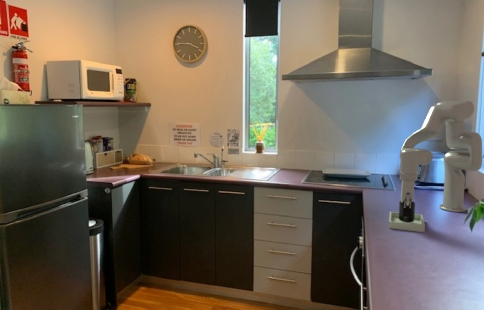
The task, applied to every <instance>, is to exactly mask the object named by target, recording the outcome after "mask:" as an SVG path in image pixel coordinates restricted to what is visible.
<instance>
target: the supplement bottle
mask: <svg viewBox="0 0 484 310" xmlns="http://www.w3.org/2000/svg"><path fill="white" fill-rule="evenodd" d="M406 196H407V194H406ZM405 201H406V200H405ZM405 206H406V205H405ZM403 208H404V201H403V202H402V201H401V200H400V201H399V204H398V212H399V220H400V221H403V222H413V221H414V220H415V214H416V213H415V212H416V202H415V201H414V200H413V201H412V202H411V216H410V217H408V216H403Z"/></svg>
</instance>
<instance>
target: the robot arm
mask: <svg viewBox="0 0 484 310" xmlns="http://www.w3.org/2000/svg"><path fill="white" fill-rule="evenodd" d="M474 111H475V106H474V103H473V102H472V101H469V100H445V101H444V100H442V101H438V102H437V103H436V104H433V105H432V106H431V107H430V108H429V110H428V112H427V115H426V117H425V118H424V121H423V123H422V125H421V127H420V128H419V129H418V130H416V131H415V132H413V133H412V134H410V135H409V136H408V137H406V139H405V141H404V142H403V144H402V147H401V149H400V152H399V159H400V168H399V180H400V181H401V188H400V201H402V202H403V201H404V208H403V216H408V217H410V216H411V202H412V201H414V195H415V193H414V192H415V182H417V181H418V176H419V175H418V174H419V166H427V165H430V164H431V162H432V161H433V159H434V155H433V153H432V151H430V150H429V149H424V148H417V147H416V146H418V145H419V144H420V143H421V144H422V143H424V142H426V141H430V140H432V139H435V138H438V137H439V135H440V133H441V131H442V129H443V127H444V124H445V141H446V146H447V147H448V149H451V151H450V150H449V151H447V152H446V153H445V154H444V156H443V164H444V184H443V198H442V204H440V205H439V206H438V207H439V209H441V210H443V211H448V212H454V213H462V212H463V213H464V212H466V211H467V208H466V207H465V206H464V200H465V198H464V196H465V184H466V183H465V182H466V177H465V174H464V172H463V171H471V172H476V171H477V172H478V171H479V170H480V169H481V168H482V165H483V140H482V136H481V135H480V134H479V133H478V132H475V131H466V129H465V128H466V127H465V120H467V119H469V118H471V117H472V115H473V114H474ZM406 194H407V196H406ZM405 200H406V201H405ZM405 205H406V206H405Z"/></svg>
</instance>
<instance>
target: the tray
mask: <svg viewBox="0 0 484 310" xmlns="http://www.w3.org/2000/svg"><path fill="white" fill-rule="evenodd" d="M388 229H395V230H400V231H401V230H402V231H410V232H418V233H419V232H420V233H425V229H426V224H425V220H424V217H423V214H419V213H415V220H414V221H413V222H403V221H400V220H399V211H397V212H396V211H389V217H388Z"/></svg>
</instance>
